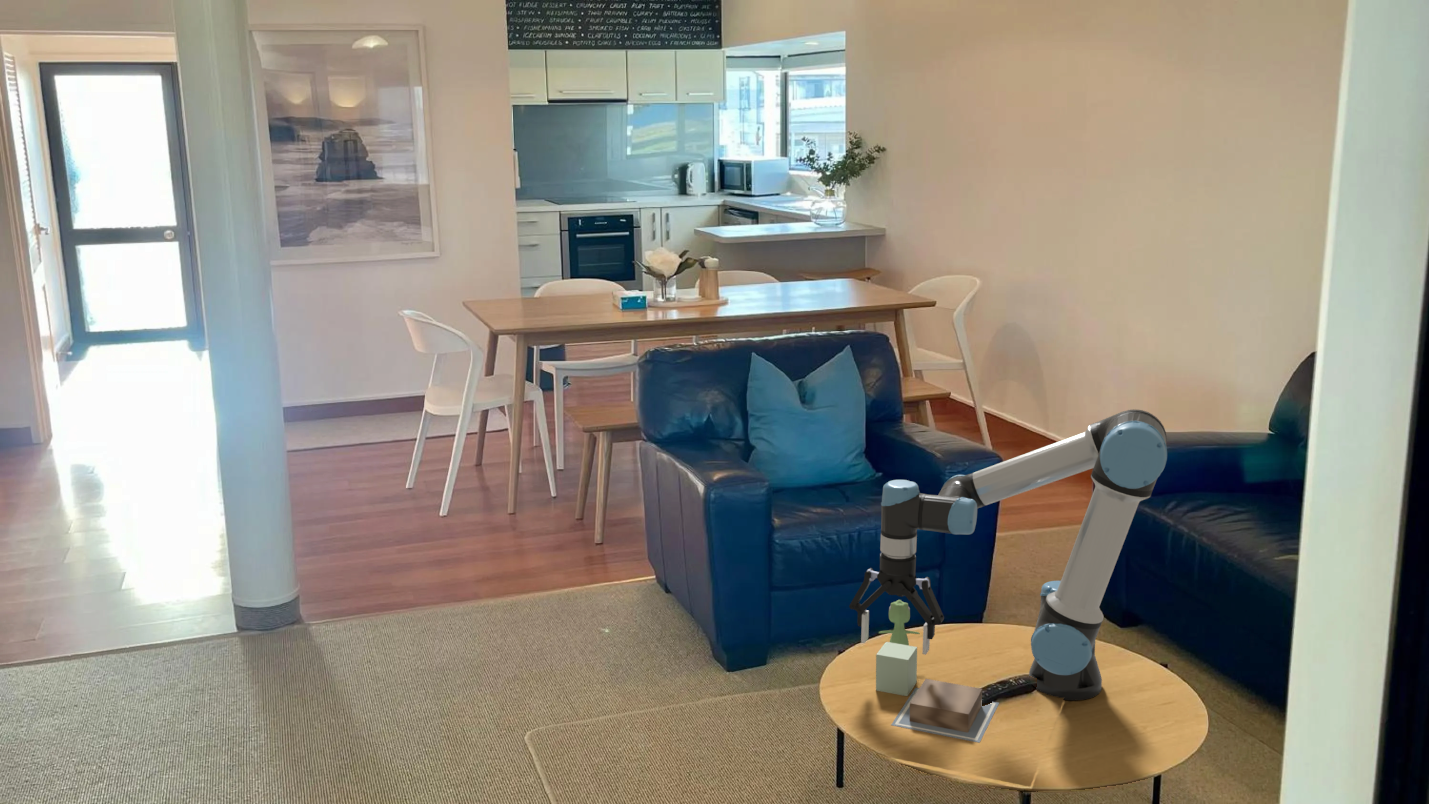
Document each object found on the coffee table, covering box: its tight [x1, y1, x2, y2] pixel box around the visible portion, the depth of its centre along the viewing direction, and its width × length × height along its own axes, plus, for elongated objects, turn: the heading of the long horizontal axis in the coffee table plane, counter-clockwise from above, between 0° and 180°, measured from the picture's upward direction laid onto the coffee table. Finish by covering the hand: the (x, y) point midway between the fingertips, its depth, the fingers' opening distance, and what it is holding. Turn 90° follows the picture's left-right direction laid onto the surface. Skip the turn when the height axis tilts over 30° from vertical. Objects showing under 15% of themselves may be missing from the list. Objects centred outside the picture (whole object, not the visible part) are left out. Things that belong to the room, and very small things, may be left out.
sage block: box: [875, 641, 918, 697], centre depth 254 cm, size 7×7×9 cm
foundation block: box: [910, 678, 983, 733], centre depth 242 cm, size 12×12×4 cm
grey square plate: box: [890, 687, 1000, 743], centre depth 243 cm, size 18×18×1 cm
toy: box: [878, 599, 921, 646], centre depth 266 cm, size 7×8×15 cm
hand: (894, 646), depth 253 cm, fingers open, 13 cm apart
